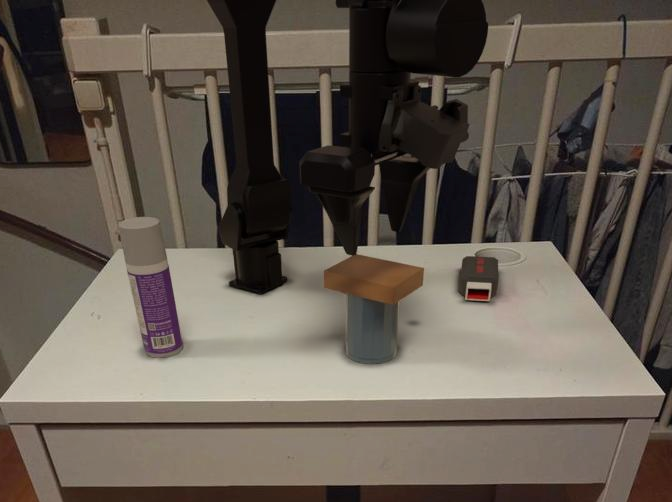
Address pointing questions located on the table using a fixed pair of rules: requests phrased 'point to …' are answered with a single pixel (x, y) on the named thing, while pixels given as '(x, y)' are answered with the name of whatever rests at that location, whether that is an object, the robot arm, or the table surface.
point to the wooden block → (374, 278)
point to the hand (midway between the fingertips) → (374, 242)
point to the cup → (371, 330)
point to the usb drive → (479, 278)
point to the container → (151, 285)
